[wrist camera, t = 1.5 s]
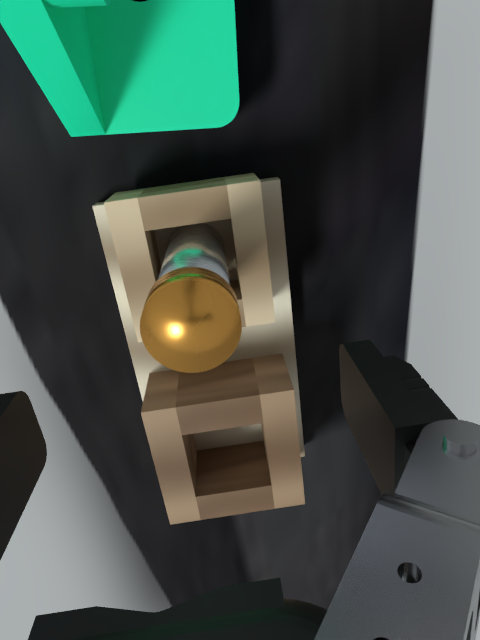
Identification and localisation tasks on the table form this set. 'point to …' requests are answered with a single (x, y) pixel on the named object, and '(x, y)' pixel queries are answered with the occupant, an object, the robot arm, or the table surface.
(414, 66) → the table surface
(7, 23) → the camera mount
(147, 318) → the lock pin
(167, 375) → the dock board
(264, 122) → the table surface
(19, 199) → the table surface
